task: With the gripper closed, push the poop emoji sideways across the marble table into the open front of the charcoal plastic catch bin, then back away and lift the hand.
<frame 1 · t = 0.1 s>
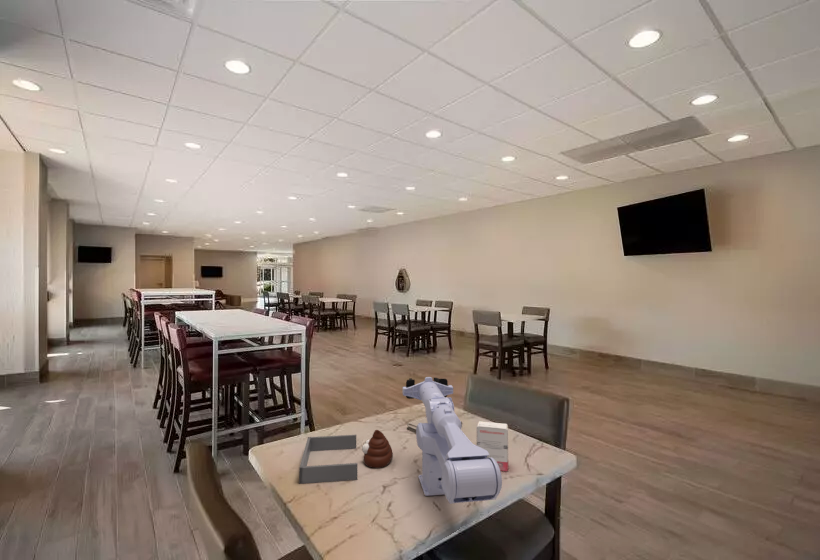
hand: (422, 381, 116), 22 cm above the table, tool horizontal, fingers open, 7 cm apart
catch bin: (332, 463, 108), on the table
washcloth: (434, 429, 136), on the table
poop emoji: (377, 461, 110), on the table
ink box: (492, 467, 107), on the table
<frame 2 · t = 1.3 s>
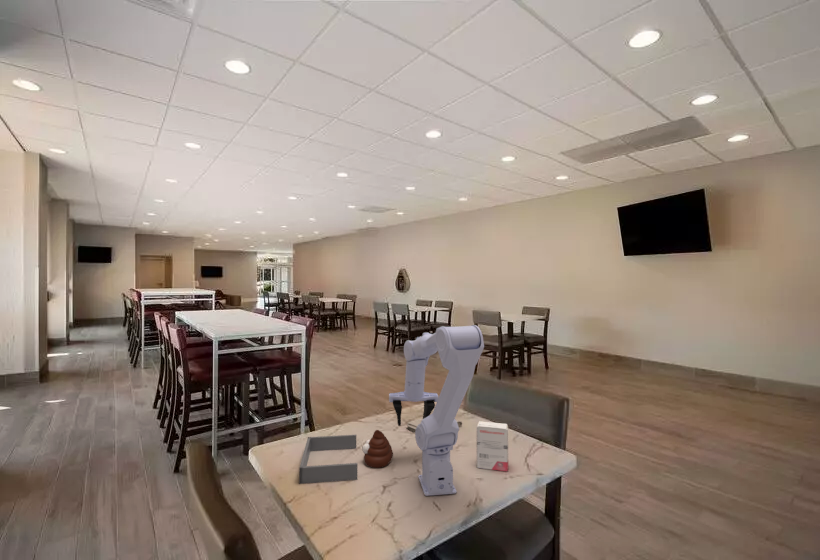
hand: (411, 424, 112), 10 cm above the table, tool pointing down, fingers open, 7 cm apart
nothing on the table moved.
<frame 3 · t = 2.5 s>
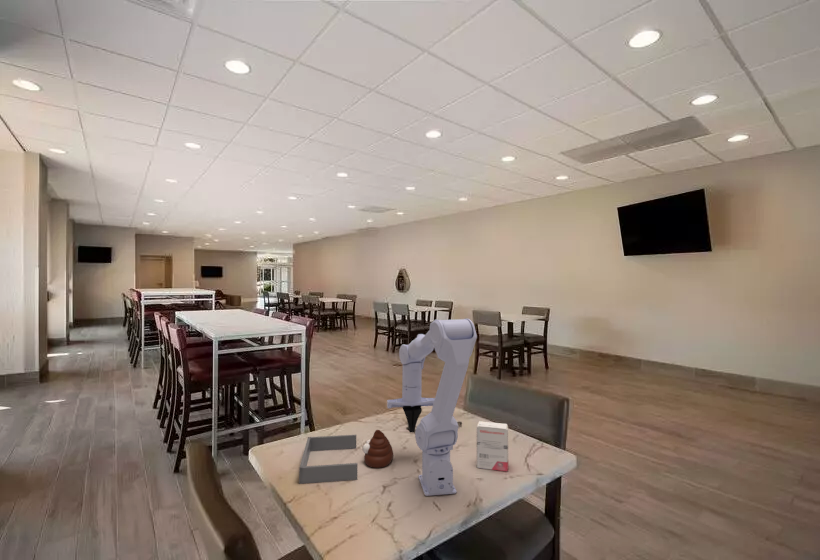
hand: (411, 431, 111), 8 cm above the table, tool pointing down, fingers closed
nothing on the table moved.
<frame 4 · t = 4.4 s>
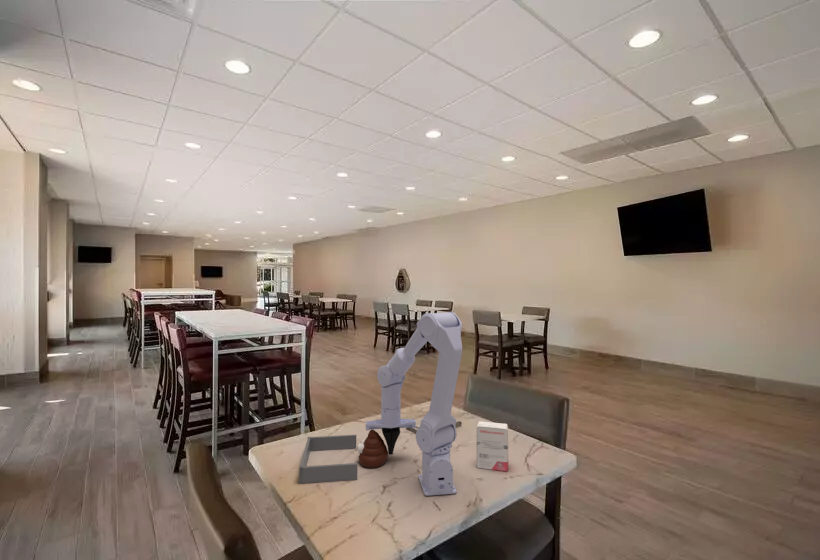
hand: (390, 453, 110), 2 cm above the table, tool pointing down, fingers closed
poop emoji: (372, 461, 109), on the table, touching gripper
everything else where it was.
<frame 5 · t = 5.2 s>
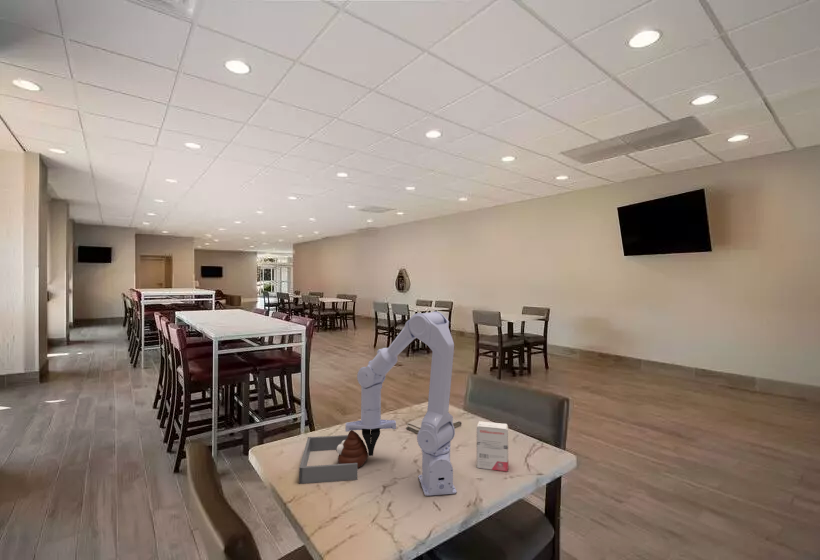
hand: (370, 454, 109), 2 cm above the table, tool pointing down, fingers closed
poop emoji: (352, 462, 109), on the table, touching gripper
everything else where it was.
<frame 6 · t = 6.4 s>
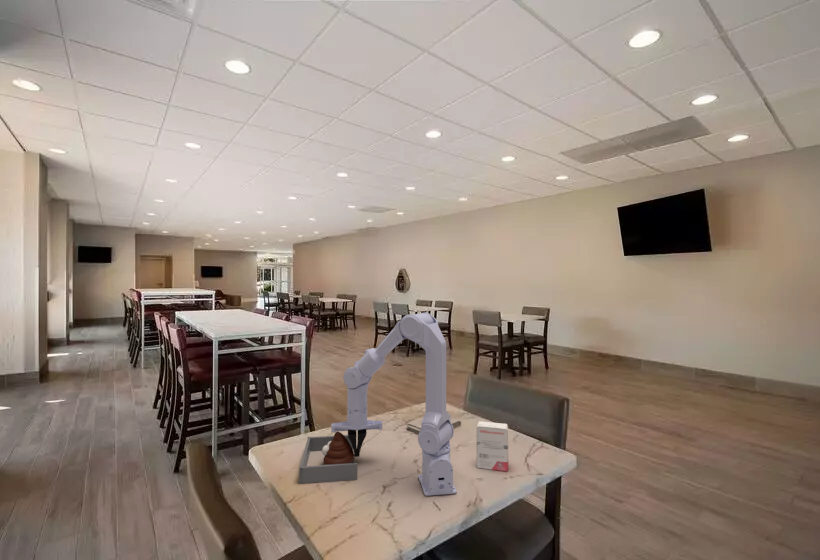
hand: (356, 455, 109), 2 cm above the table, tool pointing down, fingers closed
poop emoji: (338, 464, 108), on the table
everything else where it was.
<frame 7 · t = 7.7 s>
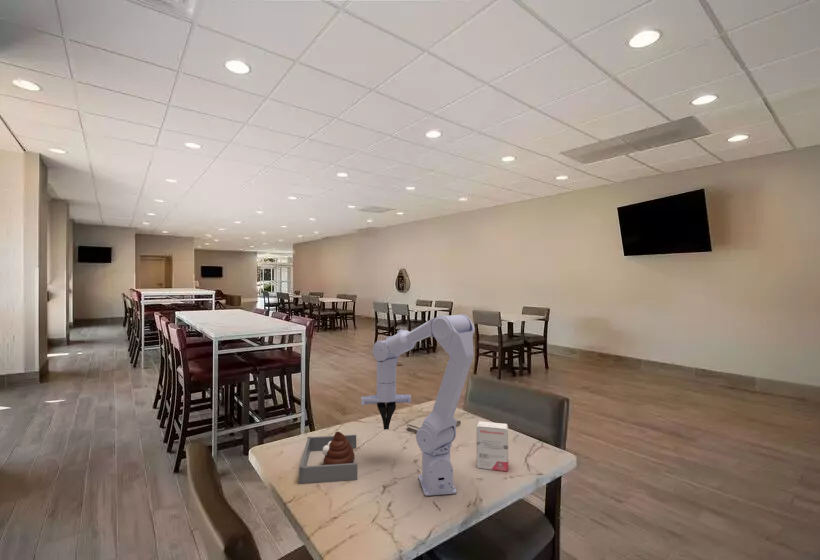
hand: (386, 428, 110), 9 cm above the table, tool pointing down, fingers closed
nothing on the table moved.
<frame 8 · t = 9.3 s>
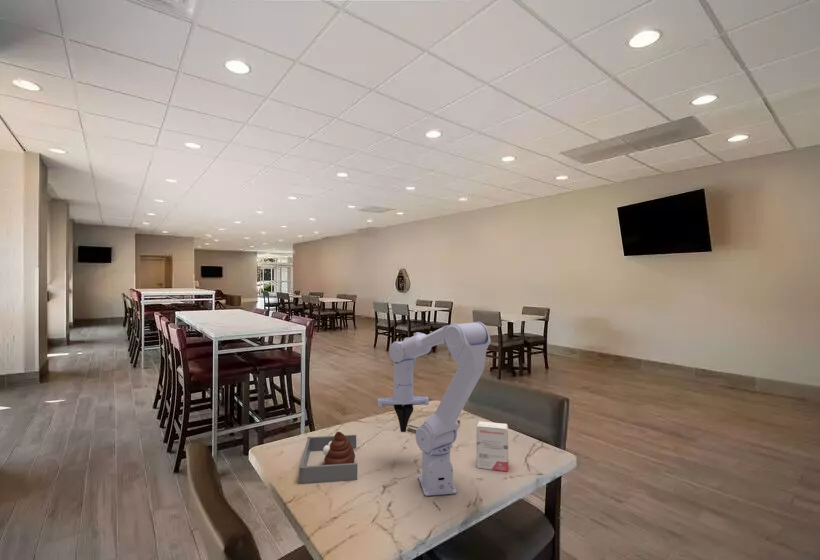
hand: (403, 430, 108), 9 cm above the table, tool pointing down, fingers closed
nothing on the table moved.
at the end: poop emoji inside the target area on the catch bin (4.1 cm from its centre), point 0.0 cm above the catch bin's base; poop emoji tilted 0° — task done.
